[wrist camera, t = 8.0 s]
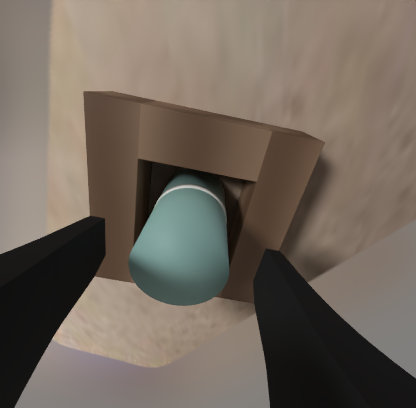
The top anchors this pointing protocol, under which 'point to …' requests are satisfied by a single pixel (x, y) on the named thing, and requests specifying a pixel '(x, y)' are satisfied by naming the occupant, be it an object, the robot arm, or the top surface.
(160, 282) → the peg
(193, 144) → the stand
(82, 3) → the top surface
